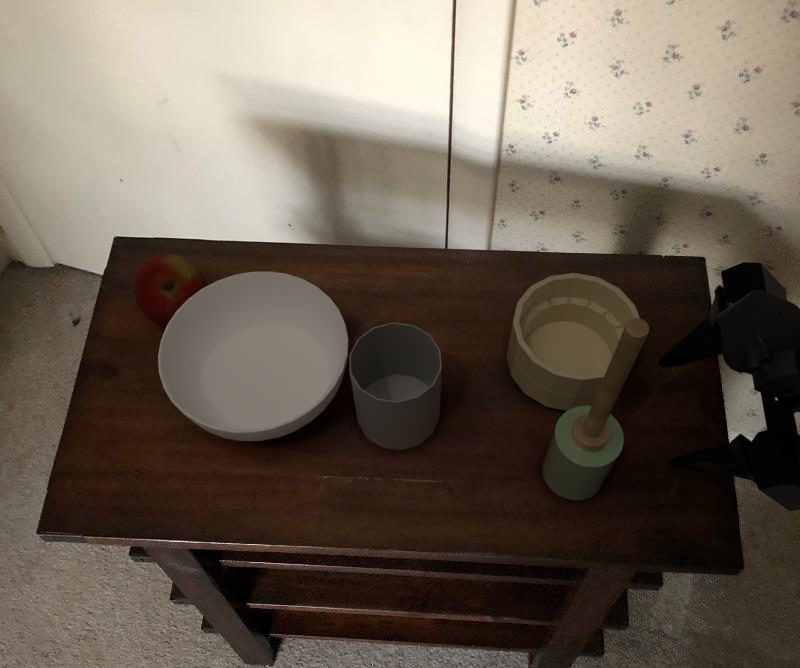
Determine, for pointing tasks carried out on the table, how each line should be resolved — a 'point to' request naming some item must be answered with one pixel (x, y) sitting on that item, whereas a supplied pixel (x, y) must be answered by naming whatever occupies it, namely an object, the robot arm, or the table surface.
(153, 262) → the apple
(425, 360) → the cup
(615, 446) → the green cylinder pedestal
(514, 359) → the mixing bowl
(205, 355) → the bowl
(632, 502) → the table surface
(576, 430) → the stirring stick
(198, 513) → the table surface
